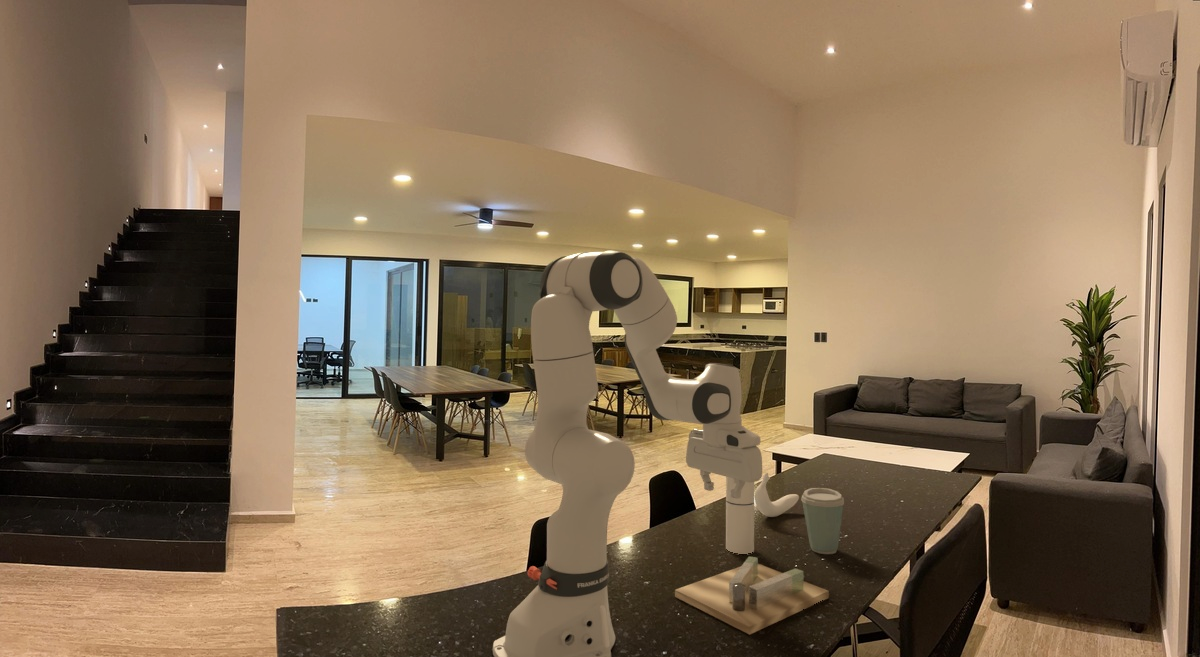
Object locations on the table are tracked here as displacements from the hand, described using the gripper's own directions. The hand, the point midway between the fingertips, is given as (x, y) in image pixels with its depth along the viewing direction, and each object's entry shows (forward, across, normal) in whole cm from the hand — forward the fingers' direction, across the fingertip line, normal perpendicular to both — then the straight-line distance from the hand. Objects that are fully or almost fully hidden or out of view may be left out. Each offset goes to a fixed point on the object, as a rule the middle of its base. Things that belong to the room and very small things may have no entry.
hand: (722, 493), depth 139 cm
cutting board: (+19, +10, -2) cm, 22 cm away
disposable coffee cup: (+20, +4, +34) cm, 40 cm away
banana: (+20, -22, +49) cm, 57 cm away
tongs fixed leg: (+18, +16, -1) cm, 24 cm away
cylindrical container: (+20, -10, +18) cm, 28 cm away
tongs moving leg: (+18, +10, -4) cm, 21 cm away
